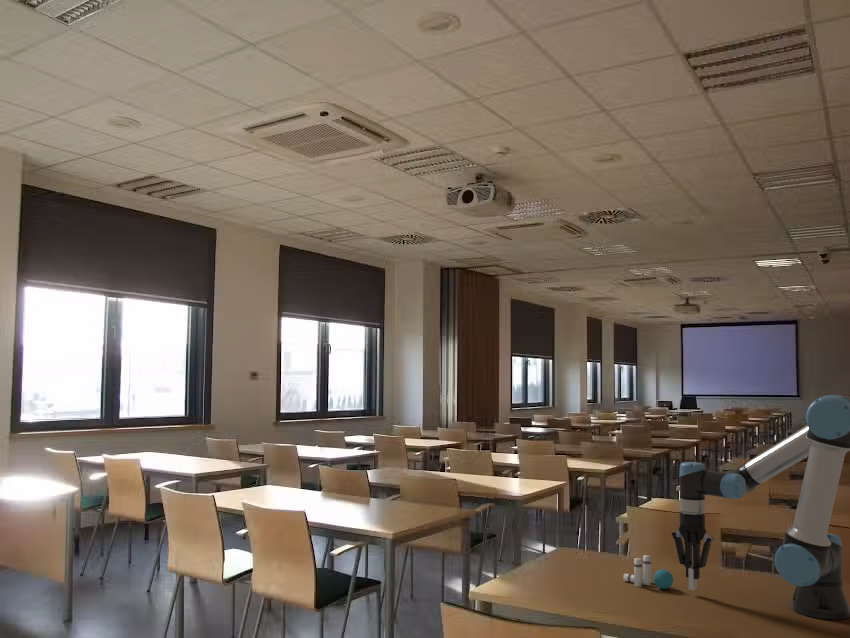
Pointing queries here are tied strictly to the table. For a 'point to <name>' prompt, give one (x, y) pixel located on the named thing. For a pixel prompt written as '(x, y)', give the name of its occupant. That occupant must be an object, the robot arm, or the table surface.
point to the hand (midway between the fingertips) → (692, 588)
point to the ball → (663, 579)
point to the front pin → (631, 579)
